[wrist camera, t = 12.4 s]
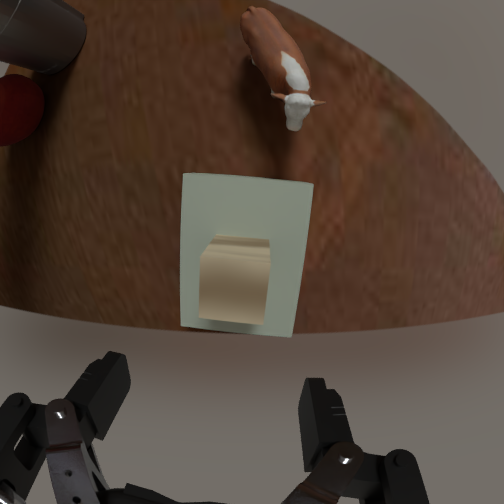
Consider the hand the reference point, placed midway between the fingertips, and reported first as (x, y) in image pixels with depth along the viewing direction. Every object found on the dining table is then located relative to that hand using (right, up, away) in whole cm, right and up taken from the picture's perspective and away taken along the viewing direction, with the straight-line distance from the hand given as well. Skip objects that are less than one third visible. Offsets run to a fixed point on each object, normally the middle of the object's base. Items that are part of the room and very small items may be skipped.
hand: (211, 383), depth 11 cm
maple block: (+1, +5, +16) cm, 17 cm away
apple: (-29, +25, +16) cm, 41 cm away
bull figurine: (+5, +24, +15) cm, 29 cm away
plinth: (+1, +6, +20) cm, 21 cm away
